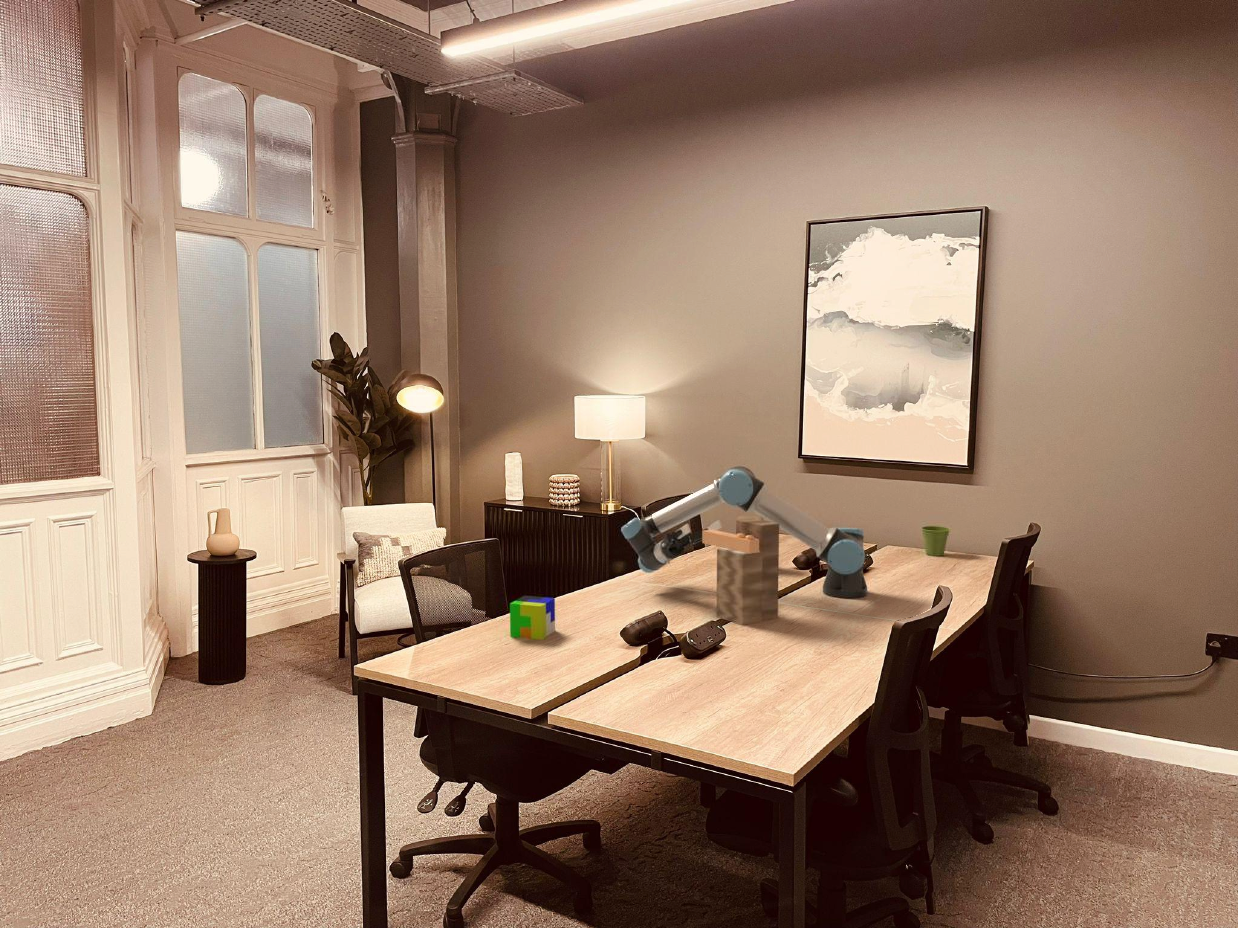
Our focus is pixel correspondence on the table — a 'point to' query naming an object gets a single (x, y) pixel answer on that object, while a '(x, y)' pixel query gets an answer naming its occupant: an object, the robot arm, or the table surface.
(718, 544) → the orange beam
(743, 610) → the step stand
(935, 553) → the plant pot
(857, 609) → the table surface
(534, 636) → the puzzle toy
